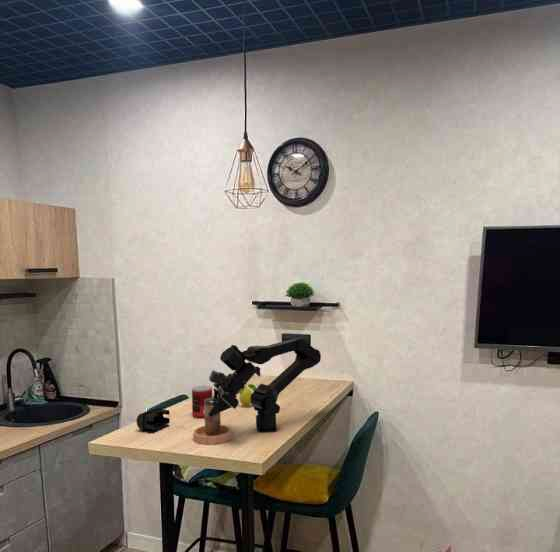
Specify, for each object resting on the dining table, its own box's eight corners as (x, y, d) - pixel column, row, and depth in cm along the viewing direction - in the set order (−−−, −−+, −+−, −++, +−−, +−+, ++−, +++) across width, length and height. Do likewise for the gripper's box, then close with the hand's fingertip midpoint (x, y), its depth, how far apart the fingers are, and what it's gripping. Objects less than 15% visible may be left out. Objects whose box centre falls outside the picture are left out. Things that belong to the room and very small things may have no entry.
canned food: (215, 413, 190) (214, 385, 190) (208, 419, 182) (208, 390, 182) (196, 412, 191) (196, 384, 191) (189, 418, 183) (189, 389, 183)
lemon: (257, 405, 200) (256, 381, 200) (250, 409, 195) (250, 384, 195) (243, 403, 203) (242, 380, 203) (236, 407, 197) (235, 383, 197)
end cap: (155, 423, 177) (155, 405, 177) (170, 426, 174) (170, 407, 174) (136, 431, 168) (135, 412, 168) (151, 434, 165) (151, 414, 165)
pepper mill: (220, 429, 163) (219, 397, 163) (220, 434, 158) (220, 401, 158) (205, 430, 162) (204, 398, 162) (205, 435, 157) (204, 402, 157)
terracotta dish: (230, 431, 167) (230, 423, 167) (232, 443, 155) (232, 435, 155) (194, 433, 166) (194, 425, 166) (192, 445, 153) (192, 438, 153)
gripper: (218, 357, 170) (188, 391, 167) (227, 367, 152) (193, 405, 149) (241, 377, 172) (211, 411, 169) (252, 389, 154) (219, 427, 151)
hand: (208, 413), depth 160 cm, fingers closed on pepper mill, 5 cm apart
